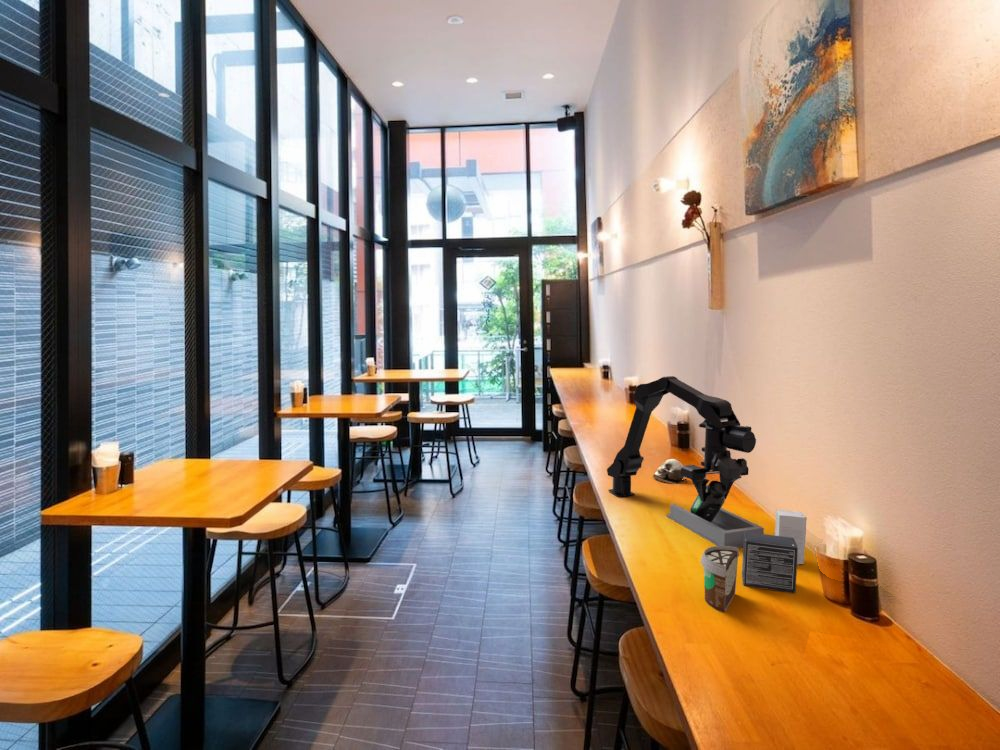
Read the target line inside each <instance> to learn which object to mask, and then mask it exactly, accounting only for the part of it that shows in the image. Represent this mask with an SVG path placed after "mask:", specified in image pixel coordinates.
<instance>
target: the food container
mask: <svg viewBox="0 0 1000 750" xmlns="http://www.w3.org/2000/svg"><path fill="white" fill-rule="evenodd" d="M739 549H740V547H739V548H737V547H731V546H717V545H715V546H710V547H708V548H706V549H704V551H703V553H702V556H701V558H700V564H701V566H702V567H703V577H704V578H703V579H704V581H703V583H704V584H703V585H704V600H705V602H706V604H707V605H708V606H710V608H713V609H715V610H716V611H719V612H722V613H725V612H726V611H727V609H728V607H729V605H730V604H731V602H732V601H733V598H734V596H735V594H736V587H737V576H738V563H739V556H740V555H739V553H740V551H739Z"/></svg>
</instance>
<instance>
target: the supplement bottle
mask: <svg viewBox="0 0 1000 750" xmlns="http://www.w3.org/2000/svg"><path fill="white" fill-rule="evenodd" d="M725 493H726V487H725V486H724V485H723V484H722V483H721V482H720V480H711V481H709V482H708V485H706V497H705V502H702V501H701V499H700V497H699V495H698V494H697V496H696V497H695V498H694V501H693V502H692V504H691V506H690V511H691V513H693V514H695V515H697V516H699V517H701V518H703V519H704V520H706V521H708V522H712V521H713V520H714V518H715V516H716V515H717V513H718V512H719V510H720V509H721V508H722V507H723V505H724V504H725V501H726V499H725V497H724V495H725ZM690 511H689V512H690Z"/></svg>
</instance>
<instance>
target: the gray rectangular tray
mask: <svg viewBox="0 0 1000 750" xmlns="http://www.w3.org/2000/svg"><path fill="white" fill-rule="evenodd" d="M669 506H670V509H669V510H670V511H669V513H667V514H666V515H665V516H666V517H667V518H668V519H670V520H672V521H673V522H675V523H677V524H679V525H681V526H682V527H684V528H686V529H687V530H690V531H691V532H692V533H695V534H696V535H698V536H699V537H702V538H703V539H705V540H707V541H709V542H710V543H712V544H714V545H715V546H731V547H737V548H739V549H740V548H743V542H744V532H749V533H757V534H765V533H764V531H765V530H764V529H765V528H764V527H763V526H761V525H758V524H756V523H754V522H752V521H750V520H748V519H746V518H744V517H741V516H739V515H737V514H735V513H733V512H731V511H729V510H728V509H727V510H726V508H725V509H724V508H722V507H721V509H720V510H719V512H718V513H717V515H716V516H715V518H714V520H713V521H712V522H708V521H706V520H704V519H703V518H701V517H699V516H697V515H695V514H693V513H691V511H689V510H687V509H685V508H684V507H682V506H679V505H678V504H676V503H672V504H670V505H669Z"/></svg>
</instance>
